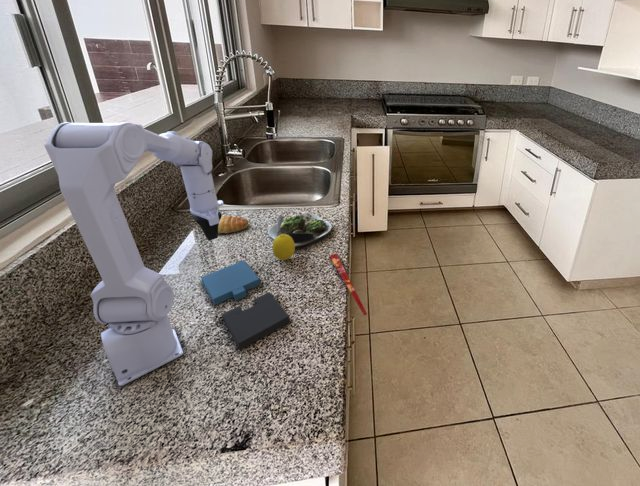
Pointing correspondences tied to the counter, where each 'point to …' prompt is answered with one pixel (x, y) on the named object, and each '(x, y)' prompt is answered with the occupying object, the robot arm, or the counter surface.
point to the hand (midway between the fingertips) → (212, 238)
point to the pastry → (231, 224)
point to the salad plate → (302, 229)
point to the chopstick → (346, 280)
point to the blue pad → (230, 282)
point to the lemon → (283, 247)
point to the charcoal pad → (255, 320)
